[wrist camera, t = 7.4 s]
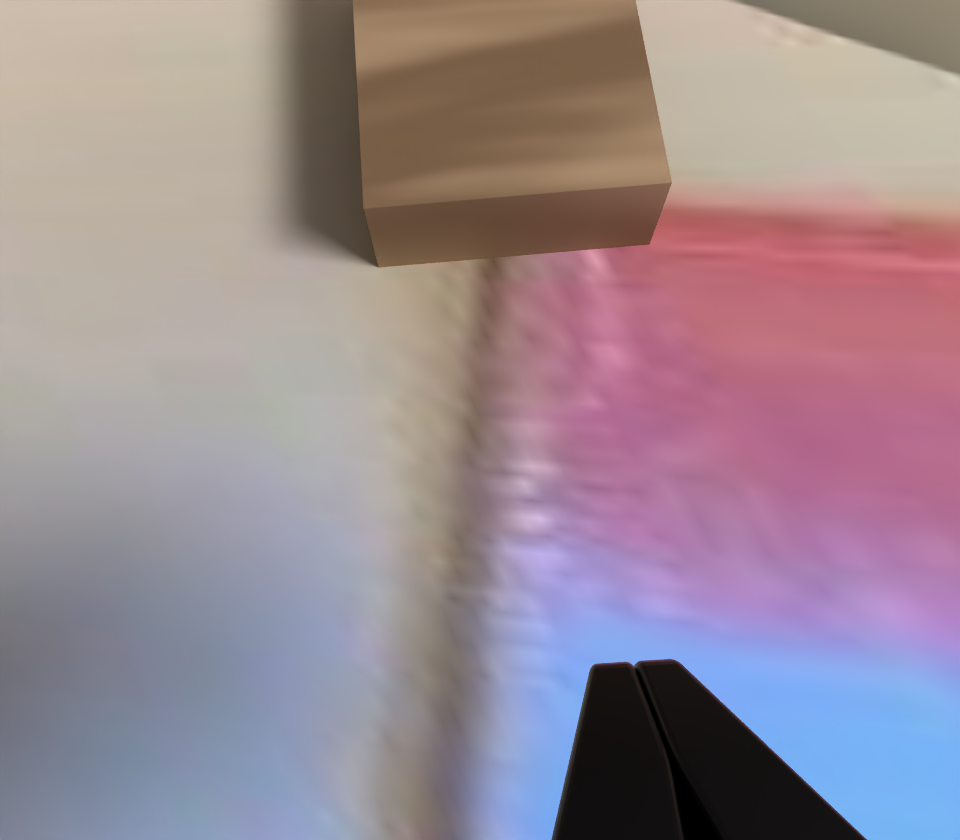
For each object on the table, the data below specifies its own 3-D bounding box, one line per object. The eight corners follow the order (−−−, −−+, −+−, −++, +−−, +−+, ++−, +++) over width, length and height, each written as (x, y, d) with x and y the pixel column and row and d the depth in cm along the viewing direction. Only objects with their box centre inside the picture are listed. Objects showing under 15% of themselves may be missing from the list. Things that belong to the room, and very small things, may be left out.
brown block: (671, 182, 21) (615, -100, 24) (363, 208, 20) (348, -80, 24) (647, 249, 24) (600, -9, 27) (379, 272, 24) (364, 10, 27)
